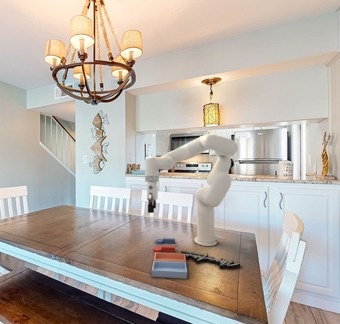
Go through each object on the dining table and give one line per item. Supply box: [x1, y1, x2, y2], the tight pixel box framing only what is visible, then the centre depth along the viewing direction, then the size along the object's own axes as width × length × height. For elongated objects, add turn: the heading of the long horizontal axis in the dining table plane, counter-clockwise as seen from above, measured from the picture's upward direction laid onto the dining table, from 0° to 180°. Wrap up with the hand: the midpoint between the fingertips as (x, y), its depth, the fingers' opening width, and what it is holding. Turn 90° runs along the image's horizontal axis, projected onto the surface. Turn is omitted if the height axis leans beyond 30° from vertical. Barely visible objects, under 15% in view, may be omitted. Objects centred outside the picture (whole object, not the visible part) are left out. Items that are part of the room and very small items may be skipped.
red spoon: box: [153, 245, 176, 253], centre depth 109 cm, size 11×4×2 cm, turn 85°
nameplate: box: [180, 250, 241, 270], centre depth 98 cm, size 28×2×10 cm
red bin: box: [153, 251, 187, 263], centre depth 97 cm, size 14×8×3 cm, turn 85°
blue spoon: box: [155, 237, 176, 245], centre depth 120 cm, size 11×4×2 cm, turn 85°
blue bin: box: [151, 260, 188, 280], centre depth 88 cm, size 14×8×3 cm, turn 85°
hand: (152, 210), depth 114 cm, fingers open, 9 cm apart
